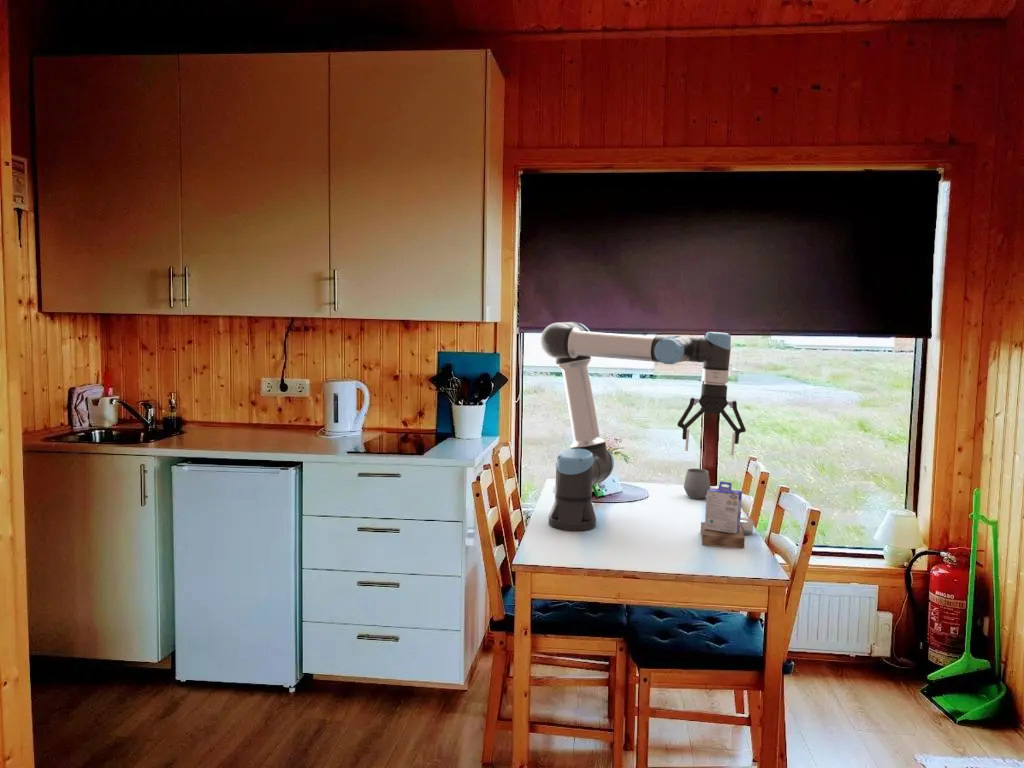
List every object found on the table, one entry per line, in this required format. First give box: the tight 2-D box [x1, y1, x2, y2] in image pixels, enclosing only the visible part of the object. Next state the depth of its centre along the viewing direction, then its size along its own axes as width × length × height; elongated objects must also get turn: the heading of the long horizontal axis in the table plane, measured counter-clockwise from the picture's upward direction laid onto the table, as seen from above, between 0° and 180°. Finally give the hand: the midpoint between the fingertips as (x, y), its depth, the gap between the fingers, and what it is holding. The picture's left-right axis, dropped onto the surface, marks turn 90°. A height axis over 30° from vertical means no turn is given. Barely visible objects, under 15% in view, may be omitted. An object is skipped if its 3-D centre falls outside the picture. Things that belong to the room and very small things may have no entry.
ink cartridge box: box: [704, 481, 743, 534], centre depth 242 cm, size 10×6×14 cm, turn 65°
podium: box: [700, 521, 746, 549], centre depth 243 cm, size 12×14×3 cm
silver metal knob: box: [740, 517, 754, 536], centre depth 252 cm, size 6×6×4 cm
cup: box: [683, 468, 711, 500], centre depth 295 cm, size 10×9×10 cm
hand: (709, 452), depth 245 cm, fingers open, 13 cm apart
